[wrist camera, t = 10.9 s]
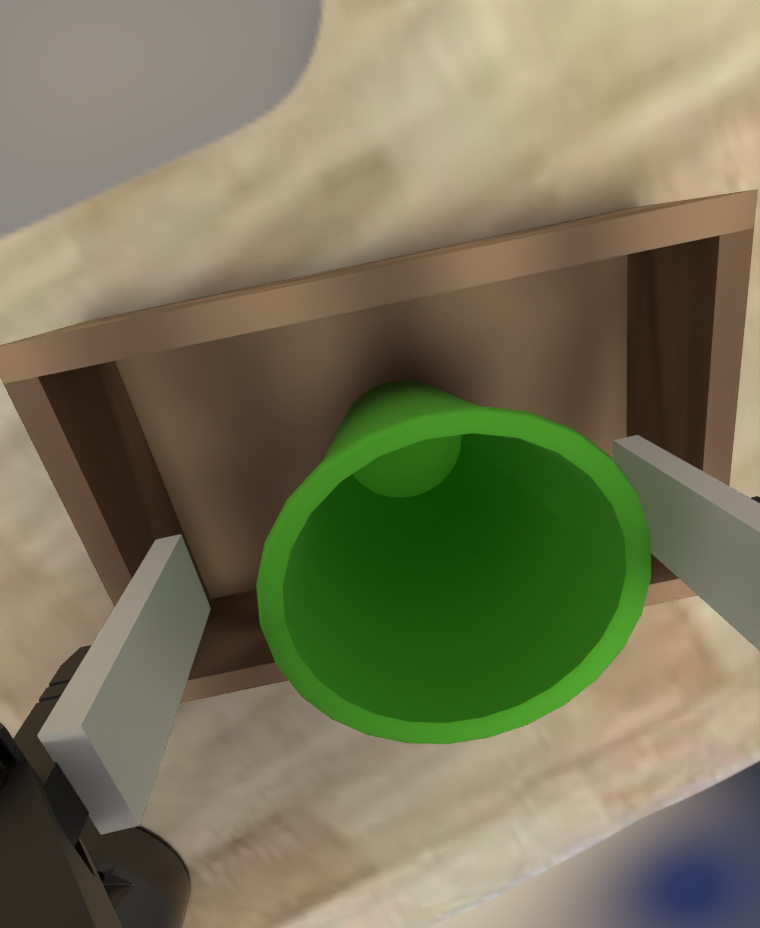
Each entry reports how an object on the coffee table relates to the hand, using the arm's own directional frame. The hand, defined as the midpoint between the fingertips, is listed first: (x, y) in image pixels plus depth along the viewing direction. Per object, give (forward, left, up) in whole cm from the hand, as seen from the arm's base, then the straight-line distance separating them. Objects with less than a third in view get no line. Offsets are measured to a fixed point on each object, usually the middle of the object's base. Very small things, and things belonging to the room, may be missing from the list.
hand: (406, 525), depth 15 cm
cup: (+1, 0, -7) cm, 7 cm away
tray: (0, 0, -8) cm, 8 cm away
